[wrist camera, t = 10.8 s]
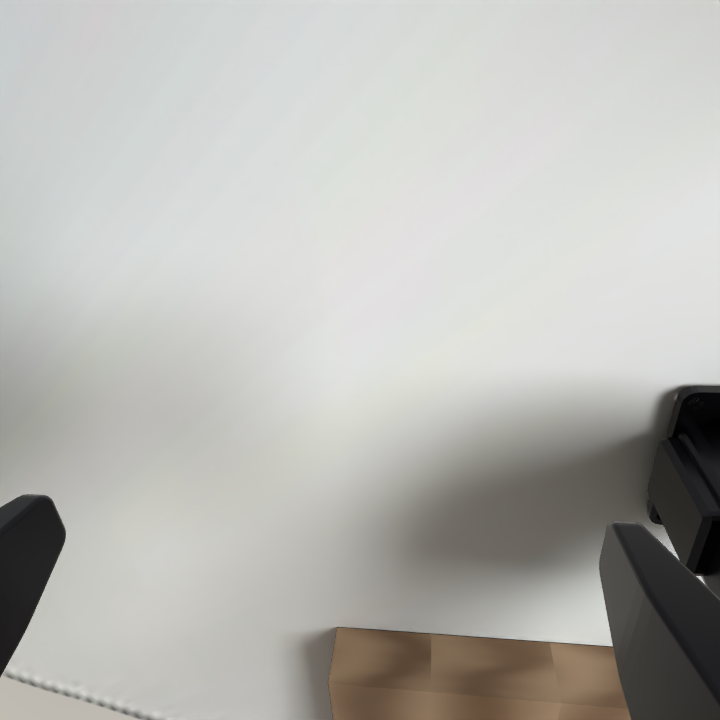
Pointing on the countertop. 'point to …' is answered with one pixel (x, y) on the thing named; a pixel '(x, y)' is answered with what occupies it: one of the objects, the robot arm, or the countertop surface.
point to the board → (470, 678)
